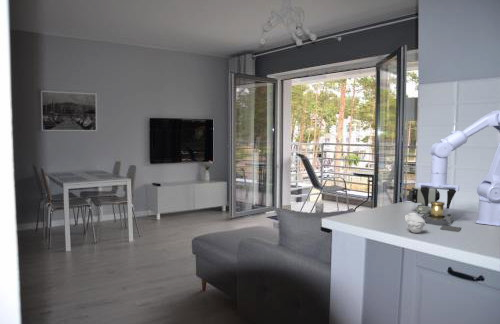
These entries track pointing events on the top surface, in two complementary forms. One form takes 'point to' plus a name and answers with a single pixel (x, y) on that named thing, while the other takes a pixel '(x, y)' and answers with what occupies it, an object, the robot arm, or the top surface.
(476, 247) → the top surface
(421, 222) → the white lumpy ball
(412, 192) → the pneumatic valve
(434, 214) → the gold metal cylinder
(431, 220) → the housing
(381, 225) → the top surface
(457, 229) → the mat
